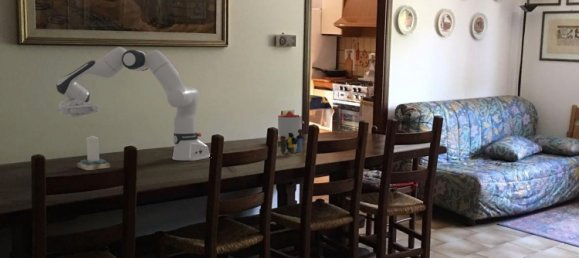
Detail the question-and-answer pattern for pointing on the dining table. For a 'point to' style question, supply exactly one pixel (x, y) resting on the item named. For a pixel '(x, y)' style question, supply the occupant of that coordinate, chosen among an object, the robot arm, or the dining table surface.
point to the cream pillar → (92, 149)
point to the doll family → (291, 143)
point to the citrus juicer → (289, 124)
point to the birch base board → (93, 164)
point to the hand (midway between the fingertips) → (84, 110)
